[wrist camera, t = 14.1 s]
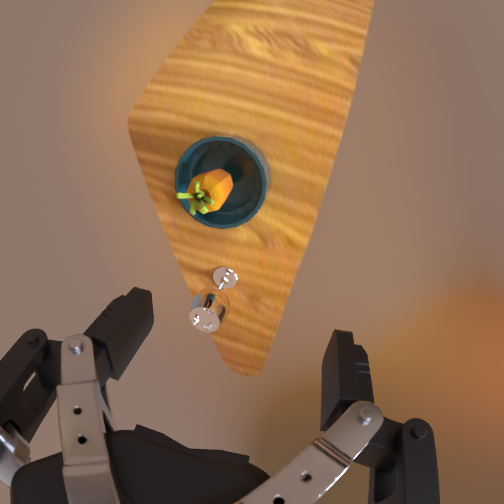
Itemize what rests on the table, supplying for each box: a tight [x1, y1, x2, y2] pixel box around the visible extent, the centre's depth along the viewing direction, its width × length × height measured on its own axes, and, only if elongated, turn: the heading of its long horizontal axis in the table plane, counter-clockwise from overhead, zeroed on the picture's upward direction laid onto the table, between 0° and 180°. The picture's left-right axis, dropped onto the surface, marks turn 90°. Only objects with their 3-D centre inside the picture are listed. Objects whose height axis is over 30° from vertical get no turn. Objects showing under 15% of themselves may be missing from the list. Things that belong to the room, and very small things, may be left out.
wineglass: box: [189, 267, 237, 332], centre depth 47 cm, size 6×6×12 cm
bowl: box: [175, 134, 271, 229], centre depth 42 cm, size 13×13×5 cm
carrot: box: [175, 169, 233, 215], centre depth 37 cm, size 5×5×15 cm
